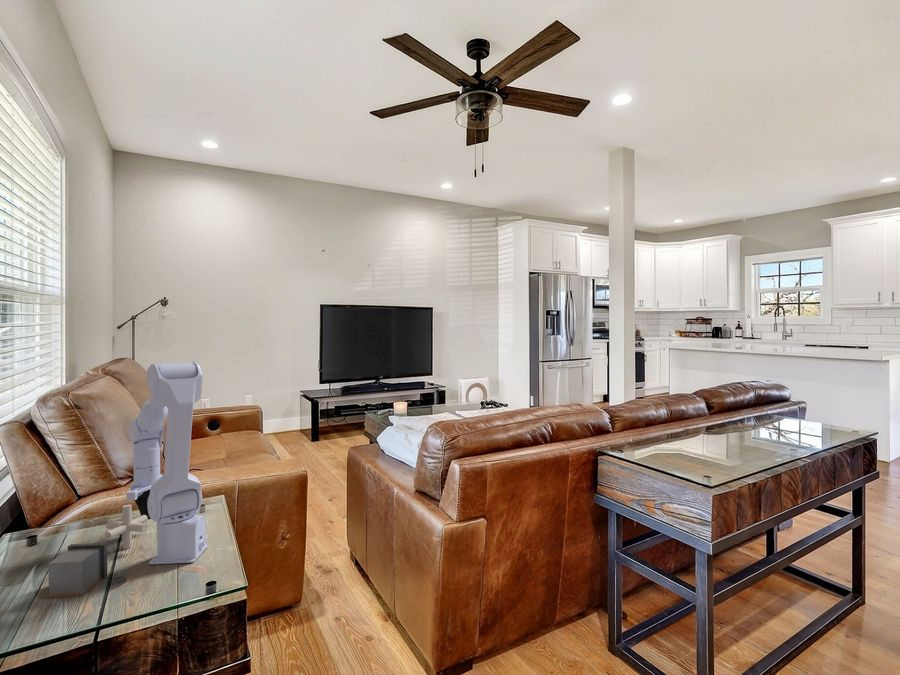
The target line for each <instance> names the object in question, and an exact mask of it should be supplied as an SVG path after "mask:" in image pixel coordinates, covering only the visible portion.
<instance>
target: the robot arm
mask: <svg viewBox="0 0 900 675" xmlns="http://www.w3.org/2000/svg"><path fill="white" fill-rule="evenodd" d="M203 376H204V375H203V372H202V368H201V366H200V365H199V364H198V362H196V361H191V362H177V363H159V364H157V363H152V364H150V365H149V367H148V368H147V371H146V383H147V384H146V385H147V388H148V389H149V391H150V398H149V400H147V401H145V402H144V403H143V404H142V405H141V409H140V411H139V413H138V416H137V418H133V419H131V420H130V423H129V428H128V429H129V430H128V431H129V437H130V439H129V440H130V441H131V443H132V445H133V446H132V447H133V449H132V452H133V460H132V461H133V482H131V483H129V484H128V487H129V488H130V489H129V490H128V491H126V501H134V502H135V504H136V506H137V509H138V511H139V515H140V516H142V515H146V516H147V517H148V520H152V521H153V522H156V534H157V535H156V536H157V537H156V538H157V539H156V540H157V541H156V545H157V547H156V548H157V551H156V553H157V554H156V555H155V556H154V557H153V558H152V559H151V560H150V561H149V562H148V565H162V564H163V565H166V564H168V565H169V564H185V563H187V564H188V563H189V564H192V563H194V562H195V561H197V559H198V558H199V557H200V556H201V555H202V553H203V552H204V551H205V550H206V549H207V548H208V547H209V546H208V544H207V520H206V518H205V516H204V515H198V514H197V511H199V510H200V509H201V506H202V504H203V493H202V483H201V481H200V480H199V478H198V477H197V476H196V475H193V474H192V473H189V471H190V469H189V468H190V458H191V457H190V456H191V455H190V454H191V446H192V445H191V443H192V442H191V441H192V430H193V429H192V427H193V416H194V415H193V414H194V407H195V403H197V402H198V401H199V400H201V397H202V391H203V378H204V377H203ZM166 418H167V419H166ZM165 420H167V421H166V436H165V437H166V438H165V451H164V452H165V453H164V467H163V468H164V469H163V473H161V447H162V444H163V437H164V423H165Z"/></svg>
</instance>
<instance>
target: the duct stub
mask: <svg viewBox="0 0 900 675" xmlns="http://www.w3.org/2000/svg"><path fill="white" fill-rule="evenodd" d="M47 564H48V570H47V572H48V573H47V574H48V598H53V597H55V598H57V597H71V596H73V597H74V596H76V597H77V596H84V594H85V593H87V592H88V591H89V590H91V589H92V588H94V587H95V585H97V584H98V583H99V582H100V581H101V580H103V579H106V578H107V577H108V542H96V543H95V542H92V543H71V544H69V545H68V546H67V550H66V551H65V552H63V553H62V554H60V555H59V556H57V557H55V558H54V559H52V560H51V561H50V562H48V563H47Z"/></svg>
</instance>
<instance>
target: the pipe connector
mask: <svg viewBox="0 0 900 675" xmlns="http://www.w3.org/2000/svg"><path fill="white" fill-rule="evenodd" d="M121 512H122V513H121V516H122V519H121V520H122V521H118V520H108V521H107V523H106V524H105V529H107V530H108V531H106V532H105V533H104V538H105V539H106V540H107V541H108V540H112V539H114V538H115V537H118V536H120V535H122V549H123V550H129V549H131V548H132V547H133V532H139V533H145V532H147V530H148V529H149V525H148V524H147V522H148V521H149V519H148V517H147V516H146V515H142V516H141V515H140V516H138V517H136V518H134V519H132V518H133V516H132V513H133V512H132V504H124V505H122V506H121Z"/></svg>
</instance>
